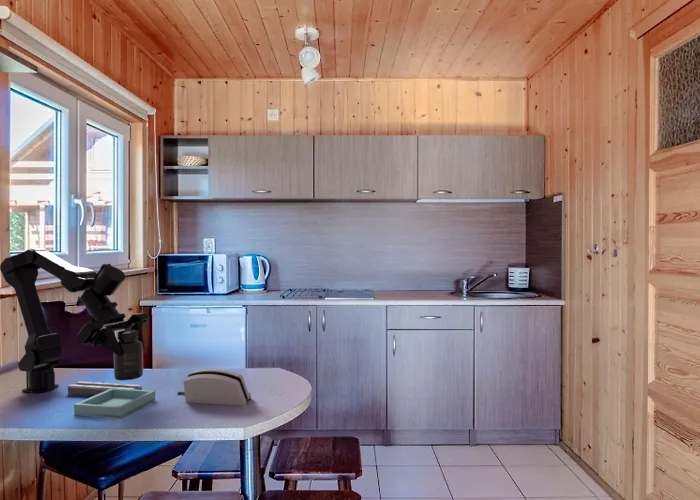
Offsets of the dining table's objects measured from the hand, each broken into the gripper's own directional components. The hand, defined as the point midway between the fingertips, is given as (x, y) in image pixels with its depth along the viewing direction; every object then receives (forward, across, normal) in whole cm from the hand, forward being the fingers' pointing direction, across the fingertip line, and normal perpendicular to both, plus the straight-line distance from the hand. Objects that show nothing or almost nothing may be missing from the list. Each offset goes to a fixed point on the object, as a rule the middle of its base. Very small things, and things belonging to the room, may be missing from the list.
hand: (132, 352), depth 120 cm
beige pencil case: (+24, -8, +5) cm, 25 cm away
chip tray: (+8, +4, -10) cm, 14 cm away
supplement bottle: (+4, 0, -6) cm, 7 cm away
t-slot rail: (+1, -3, -18) cm, 18 cm away
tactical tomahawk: (+15, -20, -4) cm, 25 cm away
